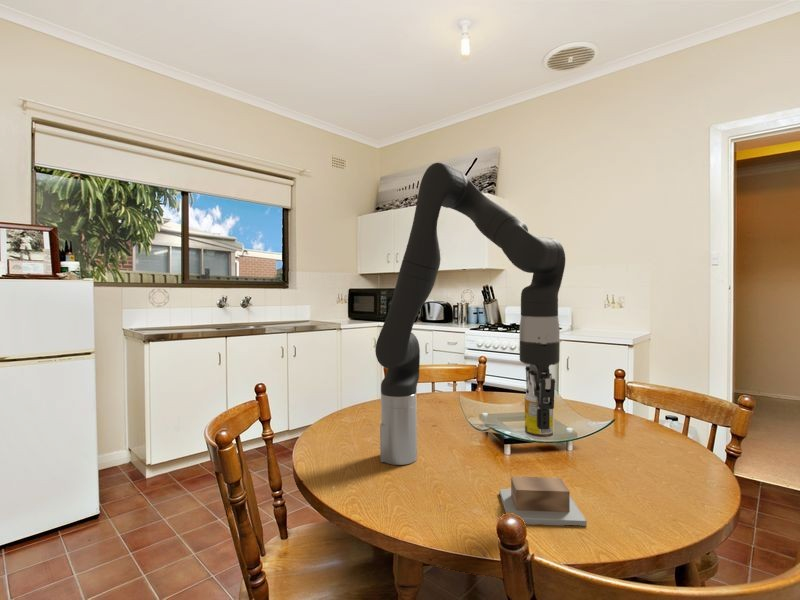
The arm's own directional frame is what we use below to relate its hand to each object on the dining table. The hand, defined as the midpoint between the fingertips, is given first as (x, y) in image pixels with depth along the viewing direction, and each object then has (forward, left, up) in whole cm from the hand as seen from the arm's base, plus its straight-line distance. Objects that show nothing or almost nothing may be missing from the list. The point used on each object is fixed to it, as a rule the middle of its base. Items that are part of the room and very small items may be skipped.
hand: (539, 423), depth 86 cm
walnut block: (0, 0, -16) cm, 16 cm away
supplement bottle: (0, 0, -3) cm, 3 cm away
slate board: (0, 0, -17) cm, 17 cm away
